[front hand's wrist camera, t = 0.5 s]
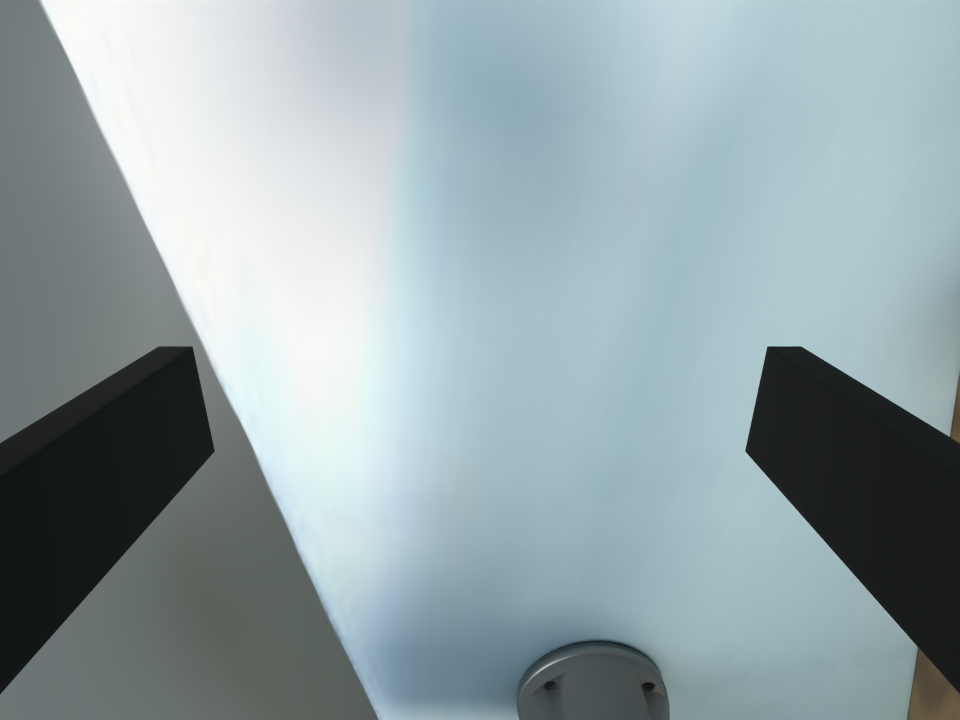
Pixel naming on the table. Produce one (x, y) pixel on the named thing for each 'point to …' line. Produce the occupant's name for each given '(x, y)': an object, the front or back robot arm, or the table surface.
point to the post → (934, 701)
